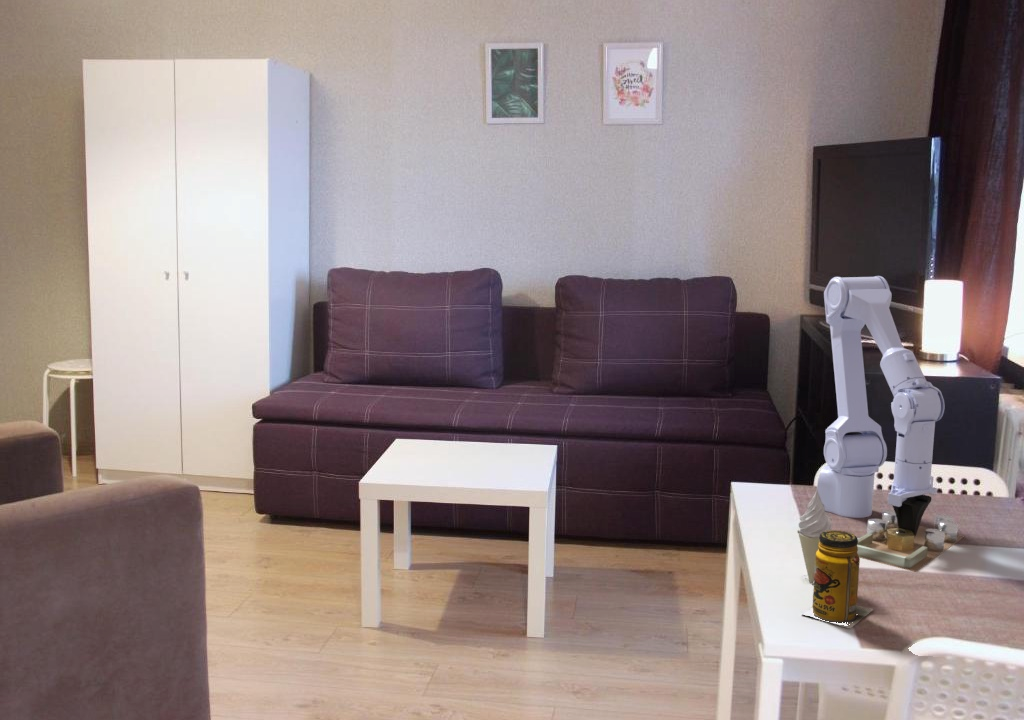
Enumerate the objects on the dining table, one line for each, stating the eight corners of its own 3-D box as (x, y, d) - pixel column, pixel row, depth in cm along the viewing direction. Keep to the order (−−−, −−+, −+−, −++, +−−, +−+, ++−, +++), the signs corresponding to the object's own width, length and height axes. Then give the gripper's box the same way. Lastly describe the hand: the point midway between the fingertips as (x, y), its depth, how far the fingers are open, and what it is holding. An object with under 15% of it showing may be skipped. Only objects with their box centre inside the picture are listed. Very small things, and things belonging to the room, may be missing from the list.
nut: (888, 550, 175) (889, 535, 175) (884, 541, 180) (885, 526, 179) (914, 552, 174) (915, 537, 174) (909, 542, 179) (910, 528, 178)
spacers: (863, 538, 181) (864, 521, 180) (894, 519, 191) (896, 503, 190) (936, 556, 173) (937, 538, 172) (964, 535, 183) (966, 519, 182)
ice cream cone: (828, 579, 166) (835, 486, 163) (827, 591, 161) (833, 495, 159) (795, 574, 168) (801, 483, 165) (793, 586, 163) (798, 492, 160)
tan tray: (839, 559, 175) (840, 543, 174) (893, 526, 191) (894, 511, 190) (914, 578, 166) (915, 562, 166) (964, 542, 183) (965, 527, 182)
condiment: (800, 615, 153) (805, 536, 150) (825, 598, 159) (830, 521, 157) (849, 630, 148) (855, 548, 146) (873, 611, 154) (879, 532, 152)
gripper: (921, 472, 169) (914, 554, 171) (953, 455, 179) (947, 532, 182) (877, 464, 173) (872, 544, 176) (912, 447, 184) (906, 522, 186)
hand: (907, 537), depth 179 cm, fingers closed
